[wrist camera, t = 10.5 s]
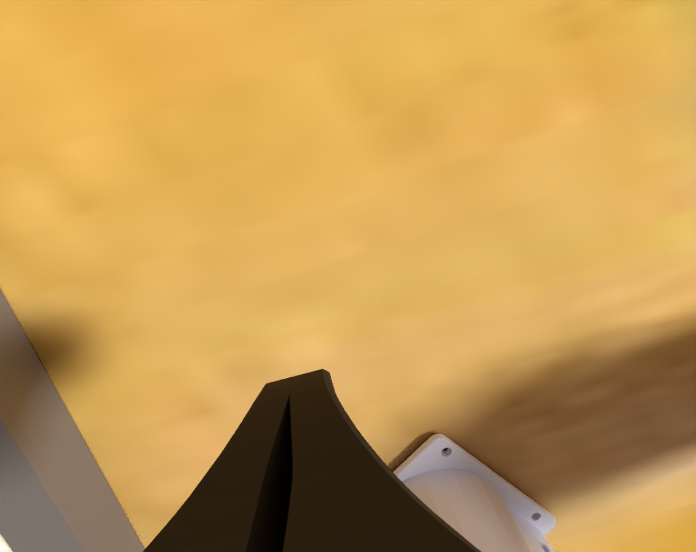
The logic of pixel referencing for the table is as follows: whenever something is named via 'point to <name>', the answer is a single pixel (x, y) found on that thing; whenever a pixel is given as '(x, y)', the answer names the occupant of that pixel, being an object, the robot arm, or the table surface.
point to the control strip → (49, 463)
